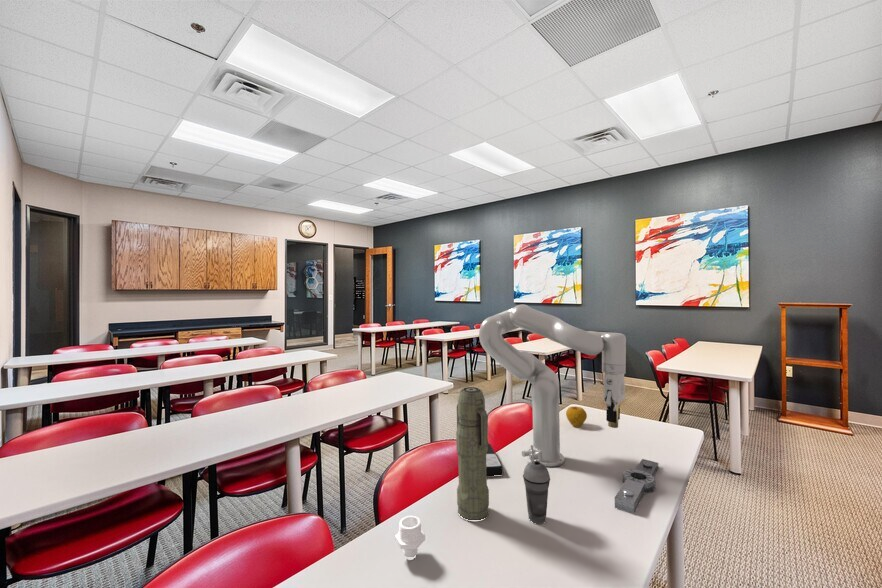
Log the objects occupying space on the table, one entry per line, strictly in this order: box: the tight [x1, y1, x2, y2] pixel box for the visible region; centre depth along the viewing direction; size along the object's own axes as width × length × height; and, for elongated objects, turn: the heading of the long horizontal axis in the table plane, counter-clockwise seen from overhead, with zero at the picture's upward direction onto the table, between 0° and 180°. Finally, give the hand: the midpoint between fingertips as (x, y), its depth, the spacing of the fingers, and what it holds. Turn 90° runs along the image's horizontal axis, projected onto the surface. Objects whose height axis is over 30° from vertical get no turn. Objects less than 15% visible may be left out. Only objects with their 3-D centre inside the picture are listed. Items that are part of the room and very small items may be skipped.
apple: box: [565, 406, 588, 428], centre depth 168 cm, size 9×9×9 cm
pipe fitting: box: [394, 515, 426, 557], centre depth 87 cm, size 6×7×8 cm
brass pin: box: [607, 400, 619, 429], centre depth 128 cm, size 3×3×9 cm
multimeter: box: [486, 443, 503, 477], centre depth 132 cm, size 13×19×5 cm
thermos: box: [455, 386, 490, 520], centre depth 103 cm, size 9×12×35 cm
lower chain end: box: [622, 458, 659, 494], centre depth 121 cm, size 22×9×2 cm, turn 140°
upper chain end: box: [614, 469, 656, 515], centre depth 111 cm, size 22×9×4 cm, turn 140°
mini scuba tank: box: [522, 444, 551, 525], centre depth 100 cm, size 7×7×20 cm
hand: (613, 419), depth 128 cm, fingers closed on brass pin, 3 cm apart
